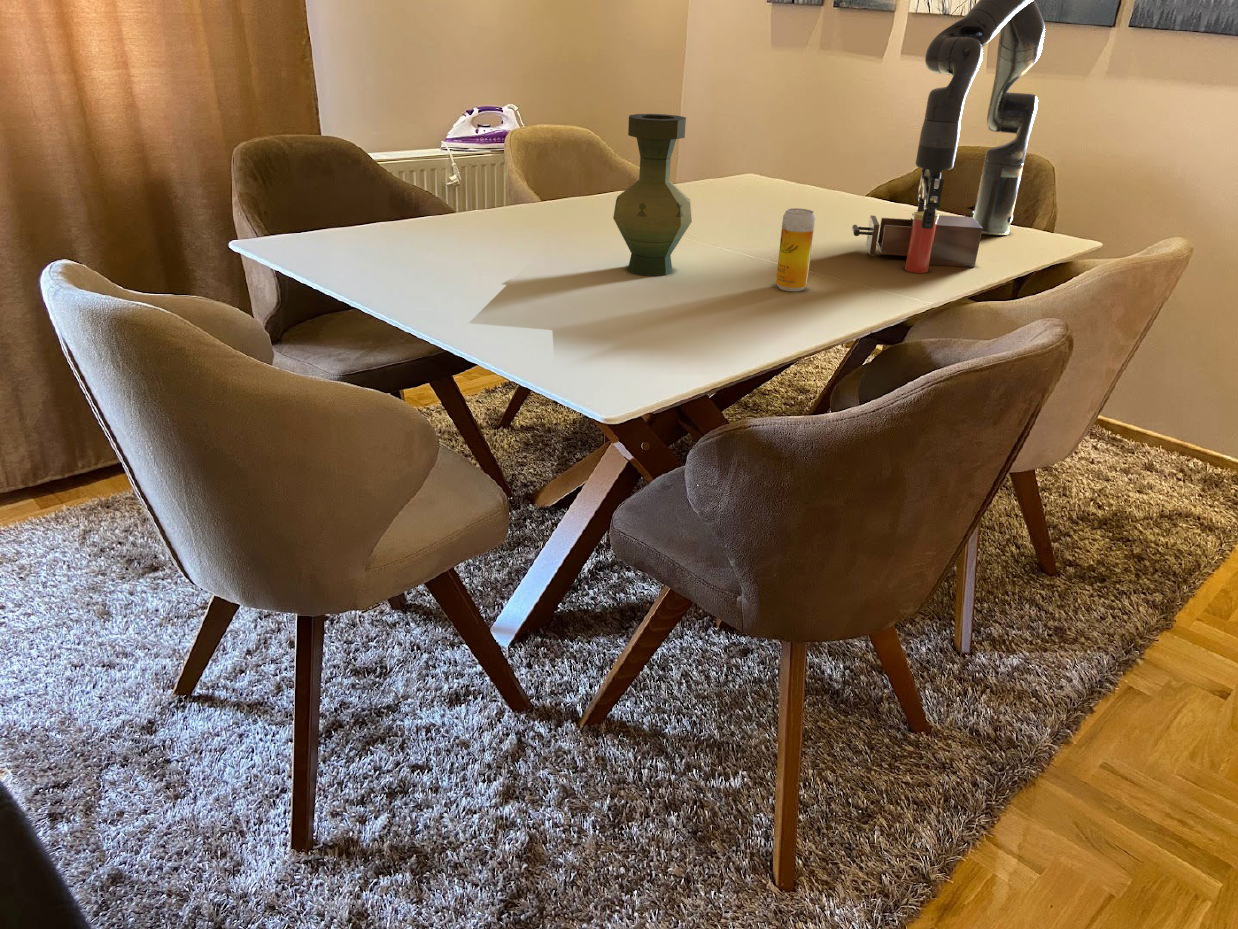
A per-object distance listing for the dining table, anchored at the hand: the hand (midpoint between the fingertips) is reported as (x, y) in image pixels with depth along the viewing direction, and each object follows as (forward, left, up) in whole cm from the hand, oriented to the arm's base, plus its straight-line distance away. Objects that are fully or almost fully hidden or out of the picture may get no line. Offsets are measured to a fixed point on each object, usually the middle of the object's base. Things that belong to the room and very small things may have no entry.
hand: (923, 223), depth 195 cm
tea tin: (0, 0, -10) cm, 10 cm away
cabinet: (-12, +7, -10) cm, 17 cm away
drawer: (-12, -5, -9) cm, 16 cm away
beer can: (+22, -27, -10) cm, 36 cm away
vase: (+16, -56, -10) cm, 59 cm away
